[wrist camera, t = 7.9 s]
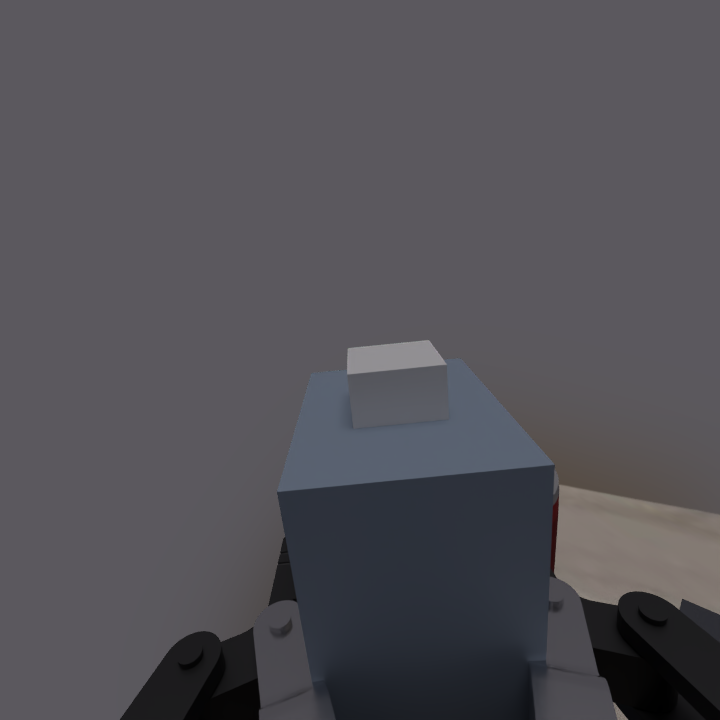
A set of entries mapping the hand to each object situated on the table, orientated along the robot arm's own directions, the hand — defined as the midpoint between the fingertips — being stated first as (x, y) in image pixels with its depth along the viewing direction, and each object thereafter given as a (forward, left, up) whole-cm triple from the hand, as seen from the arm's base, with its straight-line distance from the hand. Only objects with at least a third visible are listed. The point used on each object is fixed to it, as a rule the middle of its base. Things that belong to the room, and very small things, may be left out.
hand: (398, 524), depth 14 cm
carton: (0, +3, -7) cm, 7 cm away
